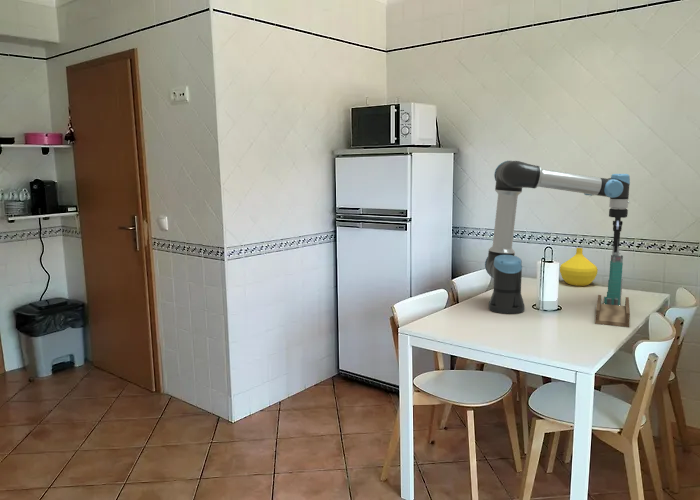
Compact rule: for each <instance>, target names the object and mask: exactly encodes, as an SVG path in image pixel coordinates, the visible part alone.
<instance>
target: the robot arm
mask: <svg viewBox="0 0 700 500" xmlns="http://www.w3.org/2000/svg"><path fill="white" fill-rule="evenodd" d="M493 175H494V181H495V188H494V189H495V190H494V191H495V192H496V193H497V201H496V202H497V203H496V210H495V211H496V212H495V219H494V220H495V221H494V231H493V238H492V239H493V240H492V246H491V247H490V248H488V253H487V254H488V255H487V257H486V258H485V262H484V268H485V271H486V273H487V275H489V276H490V277H491V278H492V279H493V288H492V291H493V292H492V295H491V297H490V299H489V303H488V310H490V311H492V312H494V313H498V314H506V315H507V314H509V315H510V314H513V315H515V314H521V313H523V312H525V311H526V310H525V308H526V307H525V302H524V299H523V296H522V277H523V276H522V273H523V262H522V259H521V258H520V257H519V256H517V255H515V254H516V252H515V250H514V249H513V241H514V231H515V223H516V215H517V214H516V213H517V206H518V196H519V195H520V194H521V193H522V192H523V188H525V189H527V188H528V189H537V188H544V189H550V190H551V189H553V190H559V191H565V192H570V193H571V192H573V193H580V194H584V196H589V197H592V196H598V197H604V198H605V197H606V198H609V206H608V208H610V209H608V217H610V218H614V220H612V231H613V241H612V244H611V245H610V246H611V247H612V252H611V253H612V254H611V255H616V254H617V253H614V252H617V246H618V252H619V253H620V246H622V244H621V243H620V242H621V238H620V237H621V232H622V230H623V229H622V228H623V223H624V222H623V220H621V219H624V218H628V216H629V215H628V212H629V209H628V208H629V204H631V202H630V201H629V194H630V184H631V182H630V181H631V178H630V174H628V173H612V174H611V177H610V178H605V177H600V176H599V177H598V176H591V175H586V174H577V173H571V172H566V171H559V170H551V169H545V168H542V167H541V166H540V165H534V164H530V163H527V162H524V161H520V160H505V161H503V162H501V163H499V164H498V165H497V166H496V168H495V170H494V174H493ZM619 253H618V256H619V255H620V254H619Z"/></svg>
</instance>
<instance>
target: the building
mask: <svg viewBox="0 0 700 500" xmlns="http://www.w3.org/2000/svg"><path fill="white" fill-rule="evenodd" d="M614 253H617V254H616V255H612V254H610V261H609V273H608V274H609V279H608V281H607V282H608V283H607V291H606V296H604V297H603V298H604V299H603V304H604V303H605V304H608V305H620V306H622V295H623V294H622V293H623V291H622V289H623V278H622V277H623V265H624V263H623V261H624V259H623V258H624V255H622V254H621V252H620V251H619V252H618V246H617V252H614ZM618 253H619V256H618Z"/></svg>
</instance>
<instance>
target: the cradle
mask: <svg viewBox="0 0 700 500" xmlns="http://www.w3.org/2000/svg"><path fill="white" fill-rule="evenodd" d="M630 310H631V309H630V299H629V296H625V302H624V305H621V306H619V305H608V304H604V303H602V295H601V294H598V295H597V301H596V309H595V319H594V321H595V323H594V324H597V325H603V324H604V325H603V326H615V327H624V328H625V327H626V328H630V317H631V311H630Z"/></svg>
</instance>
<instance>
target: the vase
mask: <svg viewBox="0 0 700 500" xmlns="http://www.w3.org/2000/svg"><path fill="white" fill-rule="evenodd" d="M583 250H584V249H583V248H582V247H576V251H575V252H576V253H575V254H574V256H572V257H570V258H569V259H567V260H566V261H565V262H563V263H561V264H560V266H559V272H560V276H561V278H562V280H563V281H564V282H565V283H566V284H568V285H569V286H574V287H585V286H588V285H590V284H592V282H593V281H594V280H595V279H596V277H597V275H598V271H599V270H598V267H597V266H596V264H595V263H593V262H592V261H590V260H589V259H588V258H587V257H585V256H584V254H583Z"/></svg>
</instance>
